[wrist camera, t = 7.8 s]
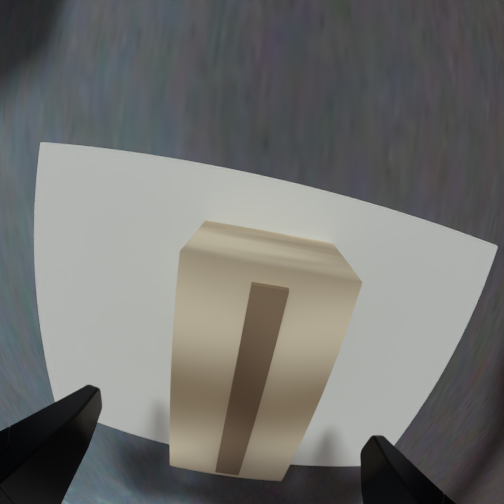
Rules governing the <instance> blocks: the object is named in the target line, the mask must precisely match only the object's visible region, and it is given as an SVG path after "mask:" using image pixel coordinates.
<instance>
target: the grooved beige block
mask: <svg viewBox="0 0 504 504" xmlns="http://www.w3.org/2000/svg"><path fill="white" fill-rule="evenodd" d="M361 285H362V281H361V280H360V278H359V277H358V276H357V274H356V273H355V272H354V270H353V269H352V268H351V266H350V265H349V264H348V262H347V261H346V260H345V258H344V257H343V256H342V254H341V253H340V252H339V251H338V249H337V248H336V247H335V245H334V244H333V243H330V242H325V241H319V240H314V239H309V238H303V237H298V236H292V235H287V234H281V233H276V232H270V231H265V230H259V229H253V228H248V227H242V226H236V225H230V224H225V223H219V222H213V221H207V220H205V221H204V222H203V224H202V225H201V226H200V227H199V228H198V230H197V231H196V232H195V233H194V234H193V236H192V237H191V238H190V239H189V240H188V242H187V243H186V244H185V245H184V246H183V248H182V249H181V250H180V254H179V264H178V275H177V286H176V297H175V310H174V324H173V340H172V359H171V384H170V466H175V467H179V468H184V469H189V470H194V471H200V472H205V473H211V474H218V475H224V476H232V477H240V478H248V479H259V480H271V481H282V479H283V477H284V475H285V474H286V472H287V470H288V468H289V466H290V464H291V462H292V460H293V458H294V456H295V454H296V452H297V450H298V447H299V445H300V443H301V441H302V439H303V437H304V435H305V433H306V430H307V428H308V426H309V424H310V422H311V419H312V417H313V415H314V413H315V410H316V408H317V406H318V403H319V401H320V399H321V396H322V394H323V391H324V389H325V387H326V384H327V382H328V379H329V377H330V374H331V372H332V369H333V366H334V364H335V361H336V359H337V356H338V353H339V351H340V348H341V345H342V342H343V340H344V337H345V334H346V331H347V328H348V325H349V322H350V320H351V317H352V314H353V311H354V308H355V304H356V301H357V298H358V295H359V292H360V289H361Z"/></svg>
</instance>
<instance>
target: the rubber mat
mask: <svg viewBox="0 0 504 504" xmlns="http://www.w3.org/2000/svg"><path fill="white" fill-rule="evenodd" d="M205 220H207V221H213V222H219V223H225V224H230V225H236V226H242V227H248V228H253V229H259V230H265V231H270V232H276V233H281V234H287V235H292V236H298V237H303V238H309V239H314V240H319V241H325V242H330V243H333V244H334V245H335V247H336V248H337V249H338V251H339V252H340V253H341V254H342V256H343V257H344V258H345V260H346V261H347V262H348V264H349V265H350V266H351V268H352V269H353V270H354V272H355V273H356V274H357V276H358V277H359V278H360V280H361V281H362V285H361V289H360V292H359V295H358V298H357V301H356V304H355V308H354V311H353V314H352V317H351V320H350V322H349V325H348V328H347V331H346V334H345V337H344V340H343V342H342V345H341V348H340V351H339V353H338V356H337V359H336V361H335V364H334V366H333V369H332V372H331V374H330V377H329V379H328V382H327V384H326V387H325V389H324V391H323V394H322V396H321V399H320V401H319V403H318V406H317V408H316V410H315V413H314V415H313V417H312V419H311V422H310V424H309V426H308V428H307V430H306V433H305V435H304V437H303V439H302V441H301V443H300V445H299V447H298V450H297V452H296V454H295V456H294V458H293V460H292V462H291V464H292V465H308V466H361V460H360V453H361V450H362V448H363V447H364V445H365V444H366V442H367V441H368V439H369V438H370V437H371V436H372V435H383V436H384V437H385V438H386V439H387V440H388V441H389V442H390V443H391V444H392V445H395V443H396V442H397V441H398V439H399V438H400V437H401V435H402V434H403V433H404V431H405V430H406V428H407V427H408V426H409V424H410V423H411V421H412V420H413V418H414V417H415V416H416V414H417V413H418V411H419V410H420V408H421V407H422V405H423V403H424V402H425V400H426V399H427V397H428V396H429V394H430V392H431V391H432V389H433V388H434V386H435V384H436V383H437V381H438V379H439V377H440V376H441V374H442V372H443V371H444V369H445V367H446V365H447V363H448V362H449V360H450V358H451V356H452V354H453V352H454V350H455V348H456V346H457V345H458V343H459V341H460V339H461V337H462V334H463V332H464V330H465V328H466V326H467V324H468V322H469V320H470V318H471V315H472V313H473V311H474V309H475V306H476V304H477V302H478V299H479V297H480V294H481V292H482V289H483V287H484V284H485V282H486V279H487V276H488V274H489V271H490V268H491V265H492V262H493V260H494V257H495V254H496V251H497V247H498V246H496V245H494V244H492V243H489V242H486V241H484V240H481V239H478V238H476V237H473V236H470V235H467V234H465V233H462V232H459V231H456V230H453V229H450V228H448V227H445V226H442V225H439V224H436V223H433V222H430V221H427V220H424V219H421V218H418V217H414V216H411V215H408V214H405V213H402V212H399V211H395V210H392V209H389V208H385V207H382V206H379V205H375V204H372V203H368V202H365V201H361V200H358V199H354V198H351V197H347V196H343V195H340V194H336V193H332V192H328V191H324V190H321V189H317V188H313V187H309V186H305V185H301V184H296V183H292V182H288V181H284V180H280V179H275V178H271V177H266V176H262V175H257V174H253V173H248V172H243V171H238V170H234V169H229V168H224V167H218V166H213V165H208V164H203V163H197V162H192V161H186V160H180V159H174V158H168V157H162V156H156V155H149V154H143V153H136V152H129V151H122V150H114V149H106V148H98V147H89V146H80V145H70V144H60V143H49V142H41V143H40V150H39V159H38V168H37V179H36V192H35V212H34V259H35V279H36V292H37V303H38V313H39V321H40V328H41V335H42V342H43V348H44V354H45V359H46V364H47V369H48V374H49V379H50V383H51V387H52V392H53V396H54V400H55V402H57V401H58V400H60V399H62V398H64V397H66V396H68V395H69V394H71V393H73V392H75V391H77V390H79V389H80V388H82V387H84V386H86V385H89V384H90V385H93V386H95V387H98V388H99V389H100V391H101V398H102V411H101V413H100V416H99V419H98V422H99V423H101V424H104V425H107V426H110V427H113V428H116V429H119V430H122V431H125V432H128V433H131V434H134V435H137V436H140V437H144V438H147V439H151V440H154V441H158V442H162V443H165V444H169V445H170V384H171V359H172V340H173V324H174V310H175V297H176V286H177V275H178V264H179V254H180V250H181V249H182V248H183V246H184V245H185V244H186V243H187V242H188V240H189V239H190V238H191V237H192V236H193V234H194V233H195V232H196V231H197V230H198V228H199V227H200V226H201V225H202V224H203V222H204V221H205Z"/></svg>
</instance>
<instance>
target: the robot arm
mask: <svg viewBox="0 0 504 504" xmlns="http://www.w3.org/2000/svg"><path fill="white" fill-rule="evenodd" d="M101 411H102V398H101V391H100V389H99V388H98V387H95V386H93V385H90V384H89V385H86V386H84V387H82V388H80V389H79V390H77V391H75V392H73V393H71V394H69V395H68V396H66V397H64V398H62V399H60V400H58V401H57V402H55V403H53V404H51V405H49V406H47V407H46V408H44V409H42V410H40V411H38V412H36V413H34V414H32V415H31V416H29V417H27V418H25V419H23V420H21V421H19V422H17V423H15V424H13V425H11V426H10V427H7V428H5V429H4V430H2V431H0V504H61V503H62V501H63V499H64V496H65V494H66V492H67V490H68V488H69V486H70V484H71V482H72V480H73V478H74V475H75V473H76V471H77V469H78V467H79V465H80V463H81V461H82V459H83V457H84V455H85V453H86V451H87V449H88V447H89V444H90V441H91V438H92V436H93V433H94V430H95V427H96V424H97V422H98V419H99V416H100V413H101ZM360 460H361V487H362V497H363V504H455V503H454V502H453V501H452V500H451V499H450V498H448V497H447V496H446V495H445V494H443V492H442V491H441V490H440V489H439V488H438V487H436V486H435V485H434V484H433V483H432V482H431V481H430V480H429V479H428V478H427V477H426V476H425V475H424V474H423V473H422V472H421V471H419V470H418V469H417V468H416V467H415V466H414V465H413V464H412V463H411V462H410V461H409V460H408V459H407V458H406V457H405V456H404V455H403V454H402V453H401V452H400V451H399V450H398V449H397V448H396V447H395V446H394V445H392V444H391V443H390V442H389V441H388V440H387V439H386V438H385V437H384V436H383V435H372V436H371V437H370V438H369V439H368V441H367V442H366V444H365V445H364V447H363V448H362V450H361V453H360Z"/></svg>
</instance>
